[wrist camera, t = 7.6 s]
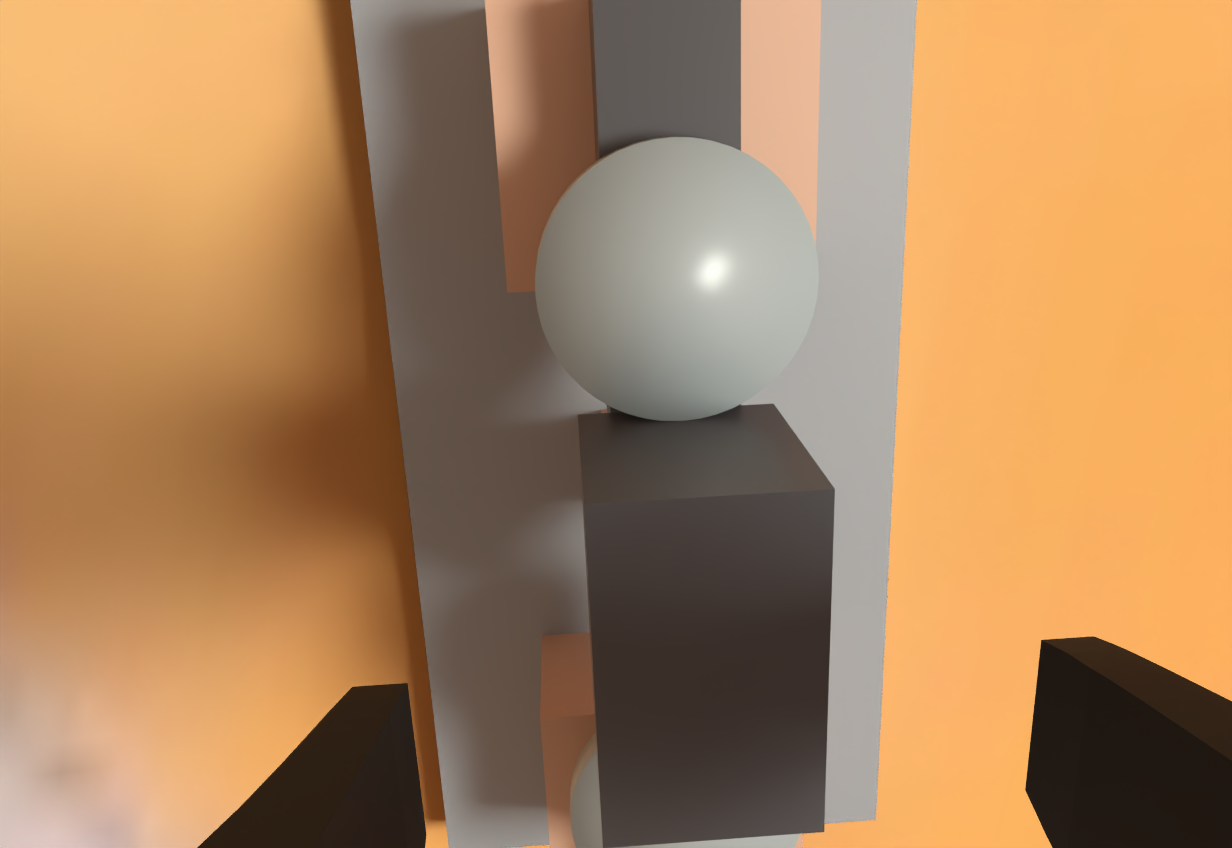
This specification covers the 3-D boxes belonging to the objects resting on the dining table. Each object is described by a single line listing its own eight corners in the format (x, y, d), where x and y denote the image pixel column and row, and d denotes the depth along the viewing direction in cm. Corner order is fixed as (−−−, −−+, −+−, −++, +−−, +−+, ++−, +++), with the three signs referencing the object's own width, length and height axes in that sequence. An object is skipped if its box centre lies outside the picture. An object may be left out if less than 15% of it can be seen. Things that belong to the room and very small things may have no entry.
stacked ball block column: (777, 898, 20) (846, 1146, 15) (579, 914, 20) (587, 1170, 15) (789, -14, 15) (901, -68, 10) (519, -4, 14) (502, -55, 10)
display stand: (863, 791, 24) (946, 977, 19) (453, 821, 24) (426, 1020, 19) (901, -64, 18) (1036, -128, 13) (355, -44, 18) (274, -101, 13)
